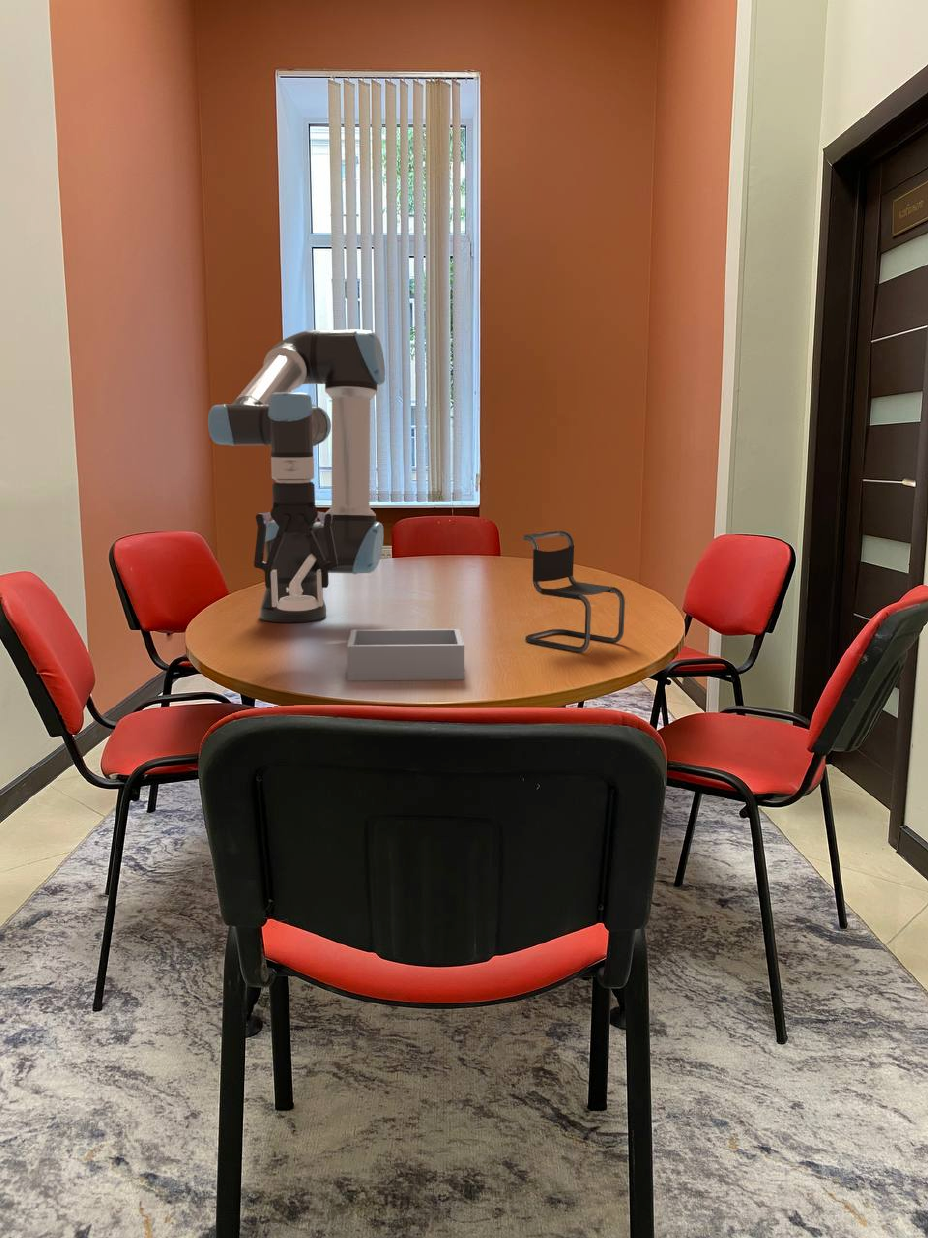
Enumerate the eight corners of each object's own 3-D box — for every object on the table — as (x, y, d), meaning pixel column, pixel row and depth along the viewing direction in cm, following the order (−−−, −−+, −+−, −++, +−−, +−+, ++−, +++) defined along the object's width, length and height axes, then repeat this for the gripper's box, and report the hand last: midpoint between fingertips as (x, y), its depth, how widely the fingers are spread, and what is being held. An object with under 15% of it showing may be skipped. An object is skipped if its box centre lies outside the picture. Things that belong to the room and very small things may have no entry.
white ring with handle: (340, 583, 163) (307, 562, 161) (304, 633, 166) (271, 614, 164) (341, 567, 170) (309, 547, 167) (307, 616, 173) (275, 597, 171)
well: (352, 661, 169) (351, 629, 168) (459, 660, 170) (459, 628, 169) (347, 680, 155) (346, 646, 154) (464, 679, 157) (464, 645, 155)
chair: (556, 632, 196) (559, 530, 192) (624, 644, 185) (628, 536, 180) (517, 641, 187) (519, 534, 183) (587, 655, 175) (590, 541, 171)
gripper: (231, 482, 159) (238, 610, 164) (349, 482, 160) (352, 608, 165) (239, 479, 166) (245, 601, 171) (351, 479, 167) (354, 600, 172)
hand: (297, 605), depth 168 cm, fingers closed on white ring with handle, 8 cm apart
